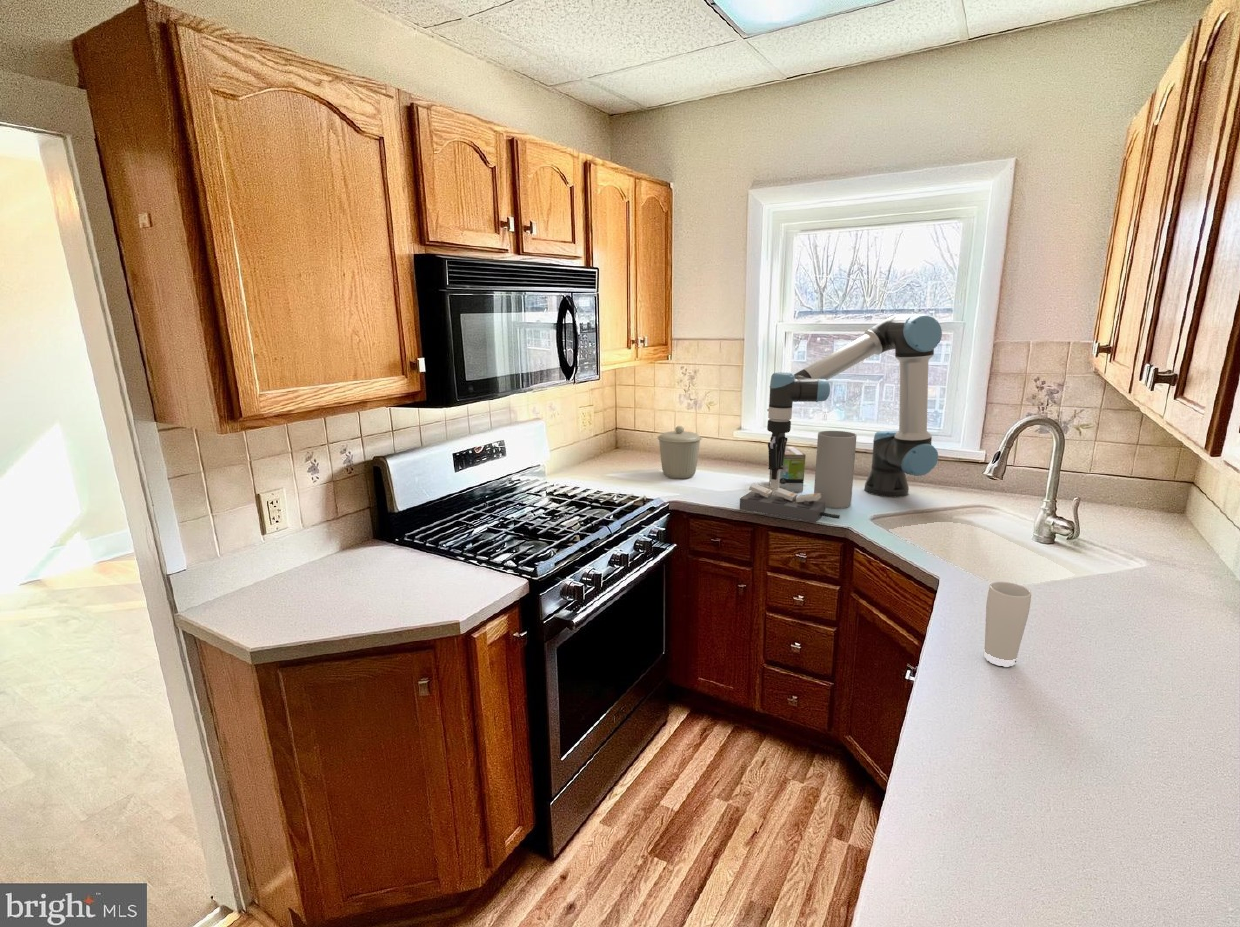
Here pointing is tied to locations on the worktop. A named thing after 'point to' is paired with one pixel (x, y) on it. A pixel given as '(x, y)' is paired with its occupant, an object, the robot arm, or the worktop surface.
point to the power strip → (784, 507)
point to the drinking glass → (1006, 619)
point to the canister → (679, 453)
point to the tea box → (792, 470)
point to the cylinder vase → (835, 468)
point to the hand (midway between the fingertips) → (774, 487)
